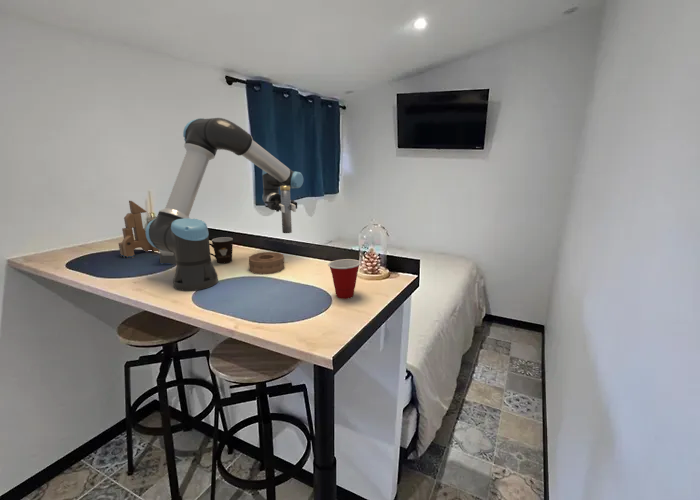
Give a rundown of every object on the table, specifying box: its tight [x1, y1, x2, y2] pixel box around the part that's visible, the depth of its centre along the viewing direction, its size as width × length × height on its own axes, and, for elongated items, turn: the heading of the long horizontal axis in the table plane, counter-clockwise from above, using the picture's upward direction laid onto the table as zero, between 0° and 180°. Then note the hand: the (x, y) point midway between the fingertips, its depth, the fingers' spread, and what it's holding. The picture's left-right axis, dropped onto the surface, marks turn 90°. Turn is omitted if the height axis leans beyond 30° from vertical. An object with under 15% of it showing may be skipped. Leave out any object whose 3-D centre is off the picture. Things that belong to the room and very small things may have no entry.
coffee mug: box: [209, 236, 234, 265], centre depth 159 cm, size 12×9×10 cm
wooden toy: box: [118, 200, 160, 257], centre depth 168 cm, size 16×7×25 cm, turn 143°
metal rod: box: [279, 185, 293, 234], centre depth 156 cm, size 4×4×20 cm
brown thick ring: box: [248, 251, 285, 275], centre depth 151 cm, size 14×14×5 cm
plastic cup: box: [327, 258, 361, 300], centre depth 122 cm, size 11×11×12 cm
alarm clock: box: [159, 250, 176, 265], centre depth 160 cm, size 16×10×18 cm, turn 179°
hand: (289, 209), depth 151 cm, fingers closed on metal rod, 4 cm apart
